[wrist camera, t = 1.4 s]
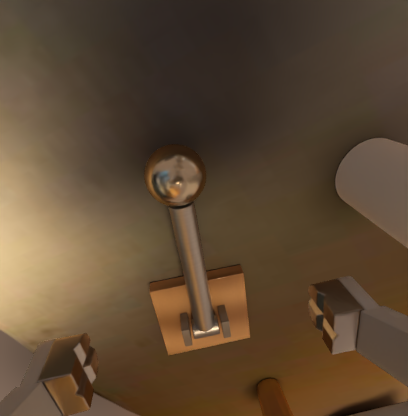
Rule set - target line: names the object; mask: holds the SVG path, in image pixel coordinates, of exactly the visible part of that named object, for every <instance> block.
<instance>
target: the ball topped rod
mask: <svg viewBox="0 0 408 416" xmlns="http://www.w3.org/2000/svg"><path fill="white" fill-rule="evenodd" d="M144 180H145V184H146V187H147V189H148V191H149V193H150V194H151V195H152V196H153V197H154V198H155V199H156V200H157V201H159V202H160V203H162V204H164V205H167V206H168V207H169V211H170V216H171V221H172V225H173V230H174V234H175V239H176V243H177V248H178V252H179V257H180V261H181V266H182V270H183V275H184V279H185V284H186V288H187V293H188V297H189V302H190V306H191V311H192V315H193V319H192V320H191V324H192V330H193V336H194V339H199V338H203V337H208V336H213V335H217V334H220V329H219V324H218V319H217V315H216V314H215V315H214V313H213V307H212V302H211V296H210V290H209V285H208V279H207V273H206V267H205V262H204V256H203V250H202V245H201V239H200V233H199V228H198V222H197V216H196V211H195V205H194V200H195V199H196V198H198V196H199V195H200V194H201V192H202V191H203V189H204V186H205V183H206V168H205V165H204V162H203V161H202V159H201V157H200V156H199V155H198V154H197V153H196V152H195V151H194V150H192V149H191V148H189V147H187V146H184V145H179V144H170V145H166V146H163V147H161V148H159V149H158V150H156V151H155V152H154V153H153V154H152V155H151V156H150V157H149V159H148V161H147V163H146V166H145V170H144Z"/></svg>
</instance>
